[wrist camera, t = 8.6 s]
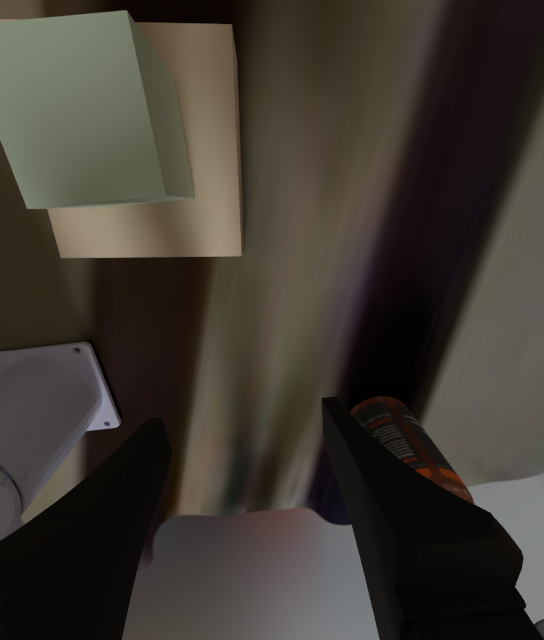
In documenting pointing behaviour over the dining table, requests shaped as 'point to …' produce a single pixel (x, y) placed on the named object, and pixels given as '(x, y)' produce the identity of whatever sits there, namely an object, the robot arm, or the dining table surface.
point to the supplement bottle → (408, 441)
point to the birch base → (203, 156)
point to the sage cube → (89, 114)
